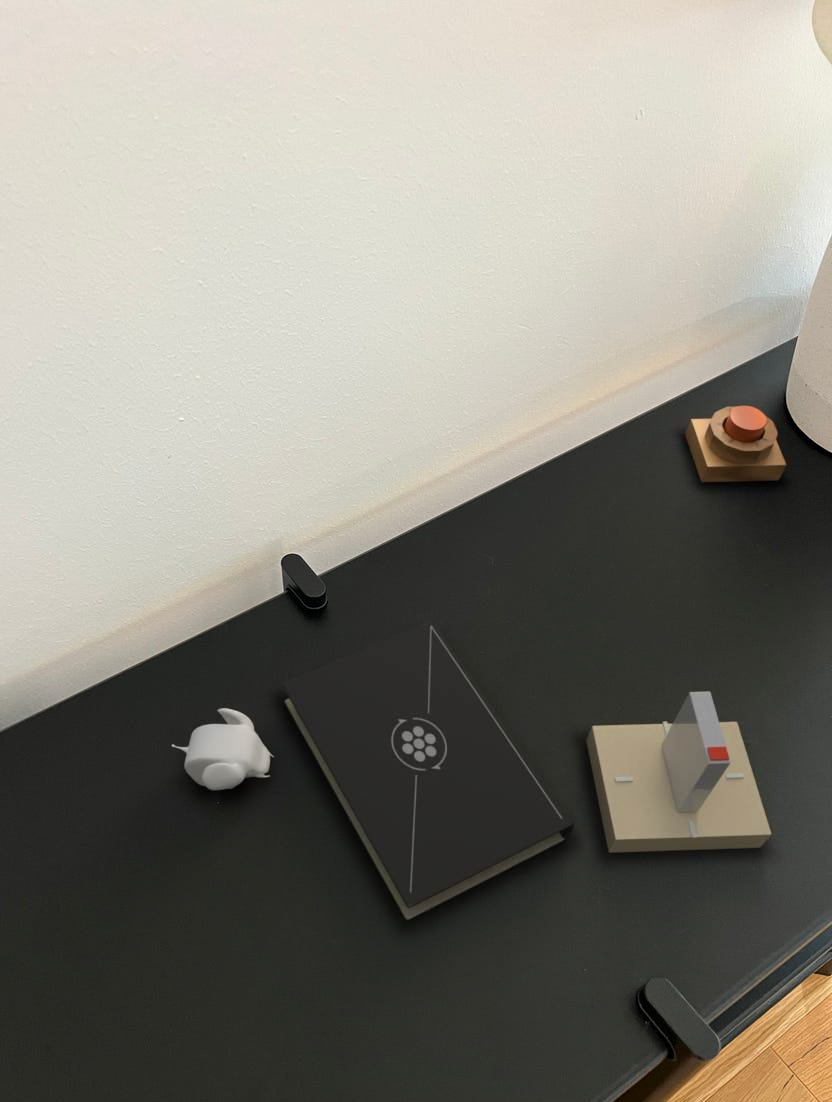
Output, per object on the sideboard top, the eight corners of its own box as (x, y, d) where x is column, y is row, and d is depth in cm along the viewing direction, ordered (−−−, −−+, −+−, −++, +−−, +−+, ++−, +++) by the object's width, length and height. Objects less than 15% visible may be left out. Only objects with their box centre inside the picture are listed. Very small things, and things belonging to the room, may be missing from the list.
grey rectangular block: (660, 744, 79) (690, 689, 72) (680, 744, 79) (711, 689, 73) (677, 812, 76) (709, 761, 69) (698, 812, 76) (732, 761, 69)
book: (571, 837, 77) (578, 821, 75) (406, 922, 73) (408, 908, 71) (433, 638, 88) (435, 618, 86) (283, 702, 84) (281, 683, 82)
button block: (759, 433, 104) (773, 403, 101) (778, 480, 100) (793, 451, 97) (685, 434, 104) (696, 405, 101) (701, 482, 100) (713, 453, 97)
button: (755, 418, 100) (761, 404, 99) (765, 442, 98) (771, 429, 97) (720, 418, 100) (725, 405, 99) (729, 443, 98) (735, 430, 96)
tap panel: (727, 735, 83) (737, 719, 80) (761, 849, 77) (773, 834, 75) (585, 739, 82) (592, 723, 80) (608, 854, 76) (616, 840, 74)
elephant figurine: (267, 815, 78) (262, 781, 73) (169, 805, 79) (157, 770, 74) (281, 742, 82) (277, 704, 77) (186, 732, 83) (177, 694, 78)
